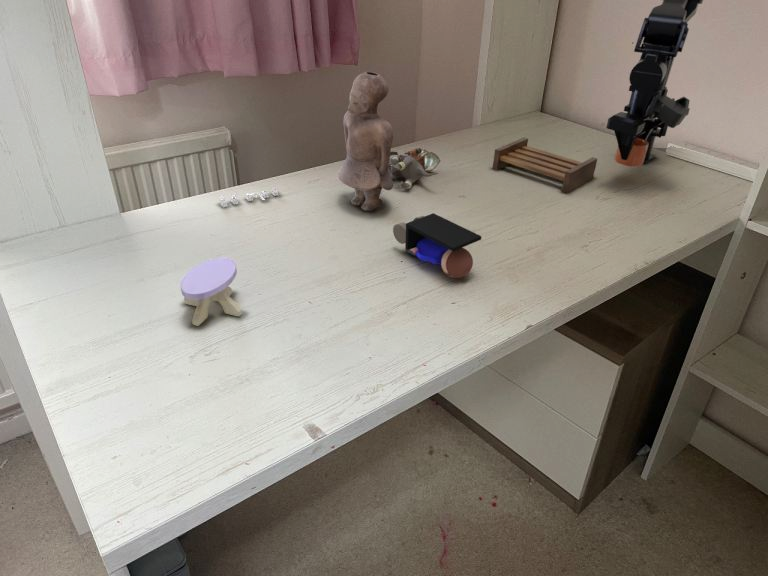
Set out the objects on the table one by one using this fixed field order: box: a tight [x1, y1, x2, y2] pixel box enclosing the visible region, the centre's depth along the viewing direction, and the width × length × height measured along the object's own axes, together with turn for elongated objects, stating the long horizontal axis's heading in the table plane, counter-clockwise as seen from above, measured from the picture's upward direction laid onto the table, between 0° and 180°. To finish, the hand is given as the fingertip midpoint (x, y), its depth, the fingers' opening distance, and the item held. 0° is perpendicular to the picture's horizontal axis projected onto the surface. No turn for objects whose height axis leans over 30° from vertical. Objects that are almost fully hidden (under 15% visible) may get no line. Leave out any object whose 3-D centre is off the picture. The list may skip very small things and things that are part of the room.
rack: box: [491, 137, 598, 194], centre depth 134 cm, size 12×18×4 cm, turn 48°
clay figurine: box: [337, 71, 394, 212], centre depth 112 cm, size 13×10×25 cm
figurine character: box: [392, 212, 482, 279], centre depth 99 cm, size 7×8×15 cm
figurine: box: [388, 147, 442, 190], centre depth 131 cm, size 20×6×17 cm
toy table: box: [180, 256, 243, 327], centre depth 86 cm, size 10×9×6 cm
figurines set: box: [219, 188, 279, 208], centre depth 118 cm, size 12×3×3 cm, turn 122°
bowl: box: [614, 138, 649, 167], centre depth 130 cm, size 6×6×4 cm
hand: (630, 156), depth 131 cm, fingers closed on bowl, 6 cm apart
